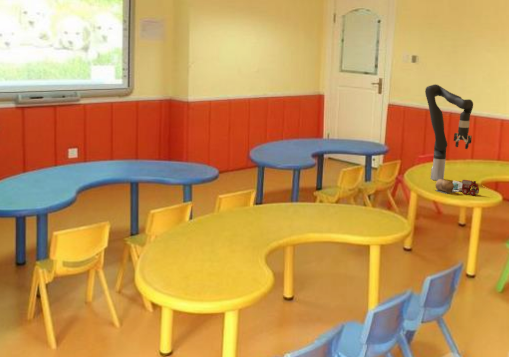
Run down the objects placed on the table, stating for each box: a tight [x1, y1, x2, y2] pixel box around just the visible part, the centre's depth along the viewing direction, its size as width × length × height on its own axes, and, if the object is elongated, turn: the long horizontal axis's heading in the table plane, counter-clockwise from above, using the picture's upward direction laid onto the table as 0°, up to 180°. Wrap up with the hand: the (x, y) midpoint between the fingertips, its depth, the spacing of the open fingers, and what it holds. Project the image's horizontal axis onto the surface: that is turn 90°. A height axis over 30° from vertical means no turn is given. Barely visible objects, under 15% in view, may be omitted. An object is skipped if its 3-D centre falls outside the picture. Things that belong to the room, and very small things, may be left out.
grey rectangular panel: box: [435, 189, 460, 195], centre depth 483 cm, size 10×21×1 cm, turn 125°
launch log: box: [435, 179, 454, 194], centre depth 478 cm, size 10×8×8 cm
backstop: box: [452, 180, 462, 192], centre depth 486 cm, size 11×7×5 cm, turn 35°
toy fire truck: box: [461, 179, 480, 197], centre depth 473 cm, size 7×12×10 cm, turn 60°
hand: (461, 147), depth 489 cm, fingers open, 8 cm apart
